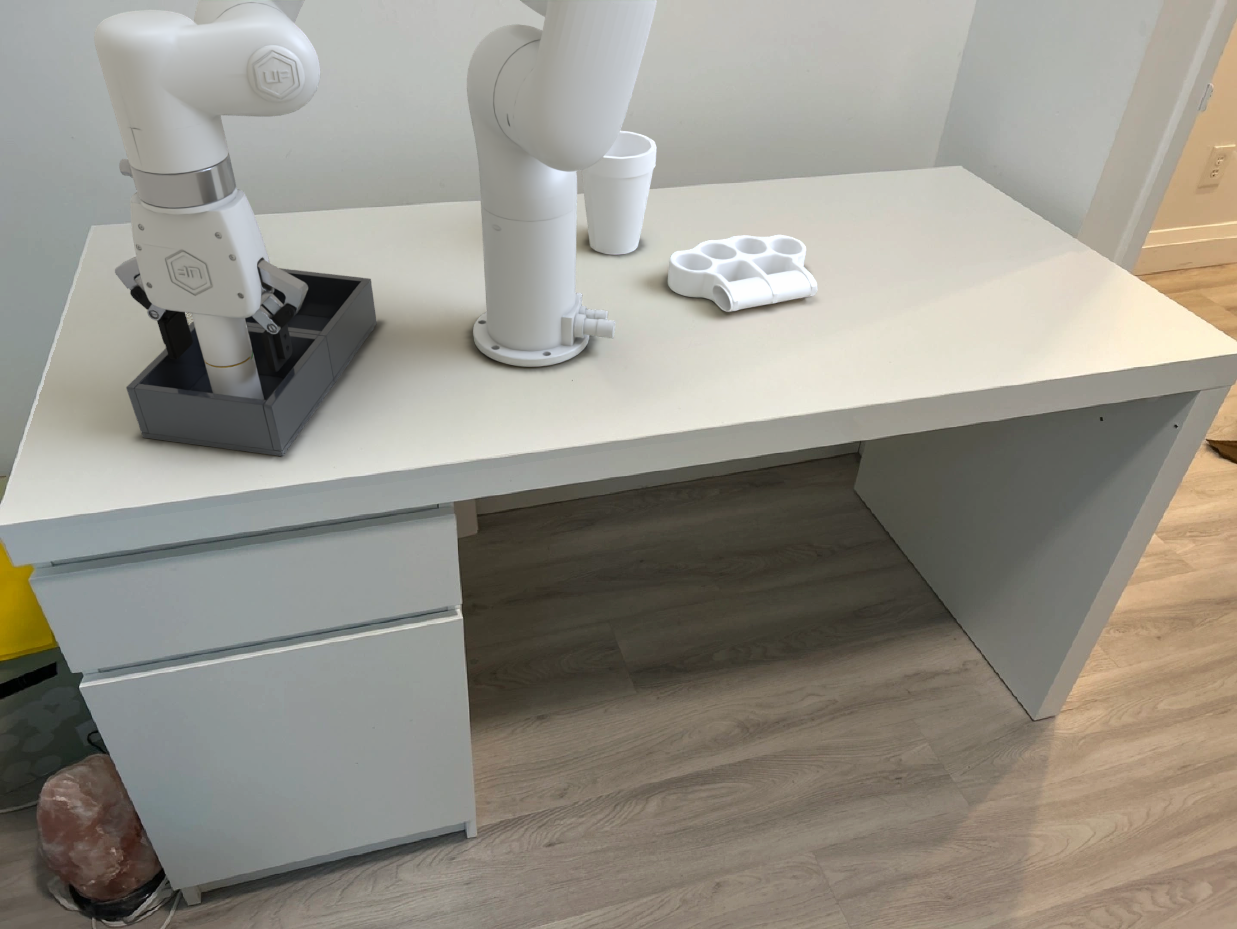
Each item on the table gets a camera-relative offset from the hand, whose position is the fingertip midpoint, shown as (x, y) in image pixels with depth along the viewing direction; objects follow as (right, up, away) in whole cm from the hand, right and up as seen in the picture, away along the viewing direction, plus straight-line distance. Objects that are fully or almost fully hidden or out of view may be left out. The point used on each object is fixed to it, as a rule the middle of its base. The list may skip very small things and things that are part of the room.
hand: (230, 357), depth 89 cm
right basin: (+2, +3, +13) cm, 13 cm away
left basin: (0, -5, +4) cm, 6 cm away
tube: (0, -4, +3) cm, 6 cm away
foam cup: (+35, +18, +35) cm, 53 cm away
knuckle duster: (+51, +12, +28) cm, 59 cm away
